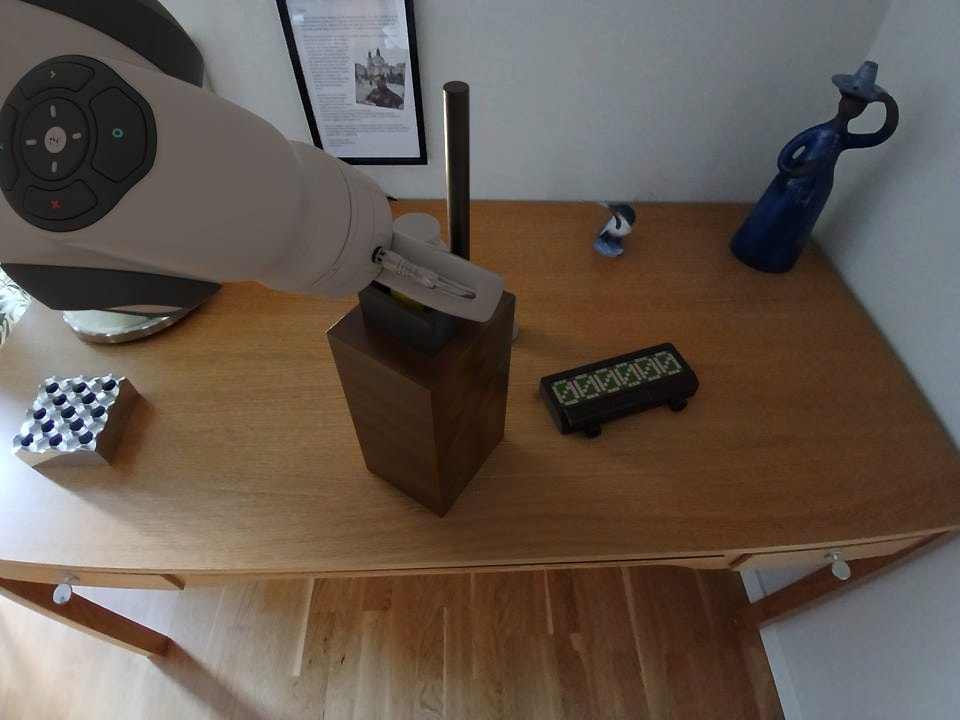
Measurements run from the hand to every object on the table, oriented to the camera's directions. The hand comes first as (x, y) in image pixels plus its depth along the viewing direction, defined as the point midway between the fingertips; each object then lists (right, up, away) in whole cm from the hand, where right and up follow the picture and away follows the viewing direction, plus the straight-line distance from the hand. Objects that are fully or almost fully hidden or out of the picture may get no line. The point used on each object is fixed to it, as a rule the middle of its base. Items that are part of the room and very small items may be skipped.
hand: (423, 262), depth 49 cm
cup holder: (-1, -21, +24) cm, 32 cm away
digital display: (+25, -14, +30) cm, 42 cm away
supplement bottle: (0, -4, +4) cm, 6 cm away
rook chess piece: (+9, -5, +38) cm, 39 cm away
